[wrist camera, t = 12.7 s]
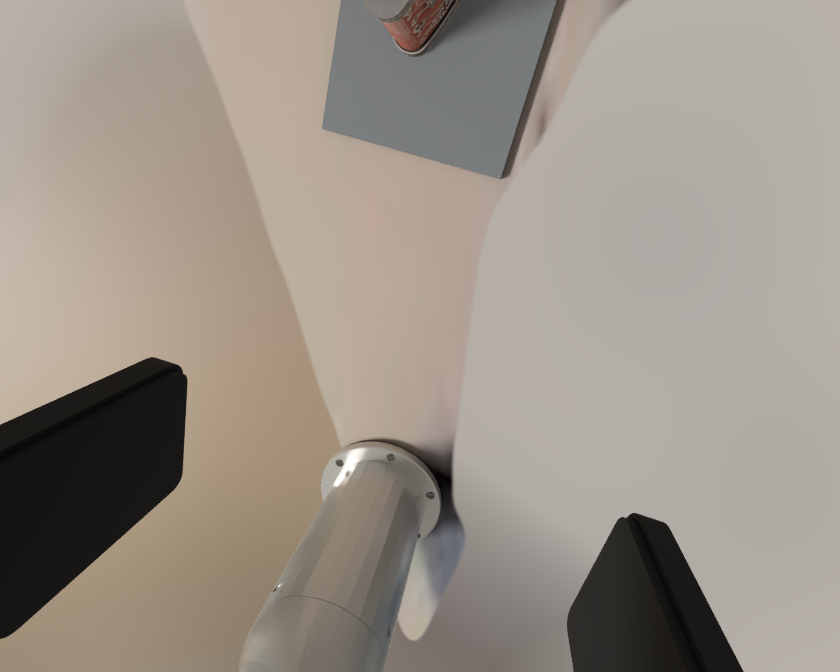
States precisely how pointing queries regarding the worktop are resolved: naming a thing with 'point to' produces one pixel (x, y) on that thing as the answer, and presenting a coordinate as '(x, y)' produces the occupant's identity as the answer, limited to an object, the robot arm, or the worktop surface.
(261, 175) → the worktop surface
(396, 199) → the worktop surface
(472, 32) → the mat
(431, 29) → the lighter
